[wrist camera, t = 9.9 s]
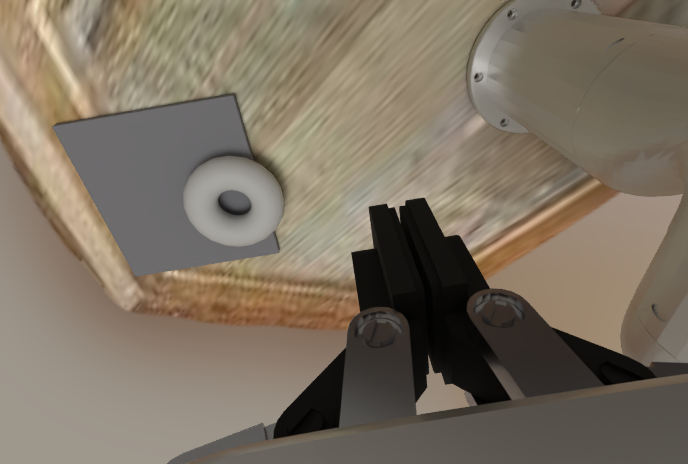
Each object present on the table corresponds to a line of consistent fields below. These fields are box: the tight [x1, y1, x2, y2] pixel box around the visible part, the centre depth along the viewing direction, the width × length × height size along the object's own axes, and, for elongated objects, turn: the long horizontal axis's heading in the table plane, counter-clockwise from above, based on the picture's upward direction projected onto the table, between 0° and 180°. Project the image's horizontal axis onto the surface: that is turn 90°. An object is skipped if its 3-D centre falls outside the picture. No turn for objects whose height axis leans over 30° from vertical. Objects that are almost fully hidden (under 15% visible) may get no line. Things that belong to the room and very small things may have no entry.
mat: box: [52, 93, 280, 276], centre depth 42 cm, size 17×18×1 cm
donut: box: [183, 156, 284, 247], centre depth 41 cm, size 10×3×10 cm
